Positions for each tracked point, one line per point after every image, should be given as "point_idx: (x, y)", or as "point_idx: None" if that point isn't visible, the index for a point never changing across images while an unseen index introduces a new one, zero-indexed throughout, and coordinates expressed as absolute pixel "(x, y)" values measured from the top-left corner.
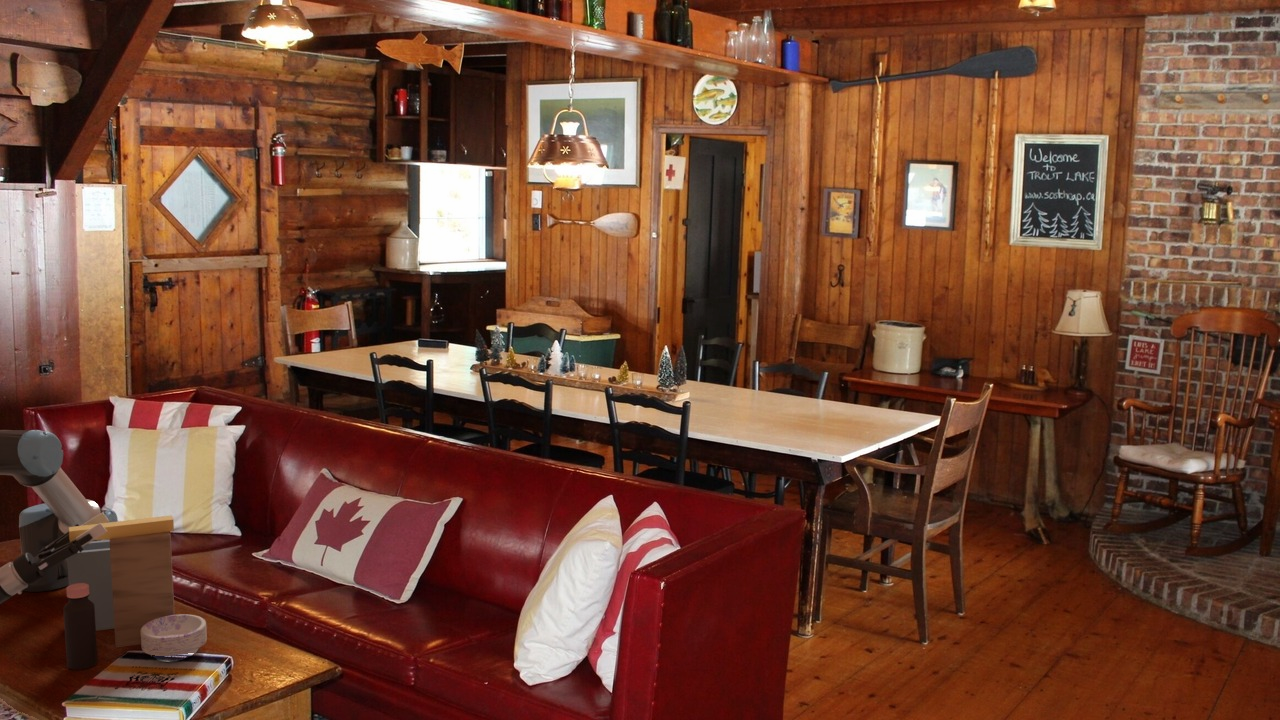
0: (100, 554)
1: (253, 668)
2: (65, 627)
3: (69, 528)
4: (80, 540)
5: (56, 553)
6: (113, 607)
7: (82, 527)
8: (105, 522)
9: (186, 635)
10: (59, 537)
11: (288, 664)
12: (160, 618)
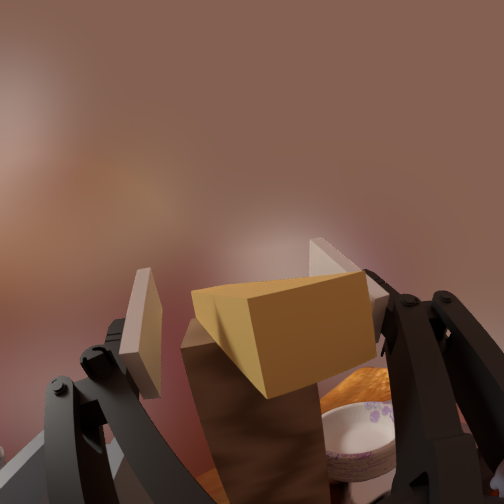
0: (125, 479)
1: (379, 394)
2: (491, 491)
3: (290, 288)
4: (395, 293)
5: (500, 352)
6: (330, 500)
7: (269, 287)
8: (161, 314)
9: (386, 403)
10: (51, 501)
11: (362, 383)
12: (329, 451)
